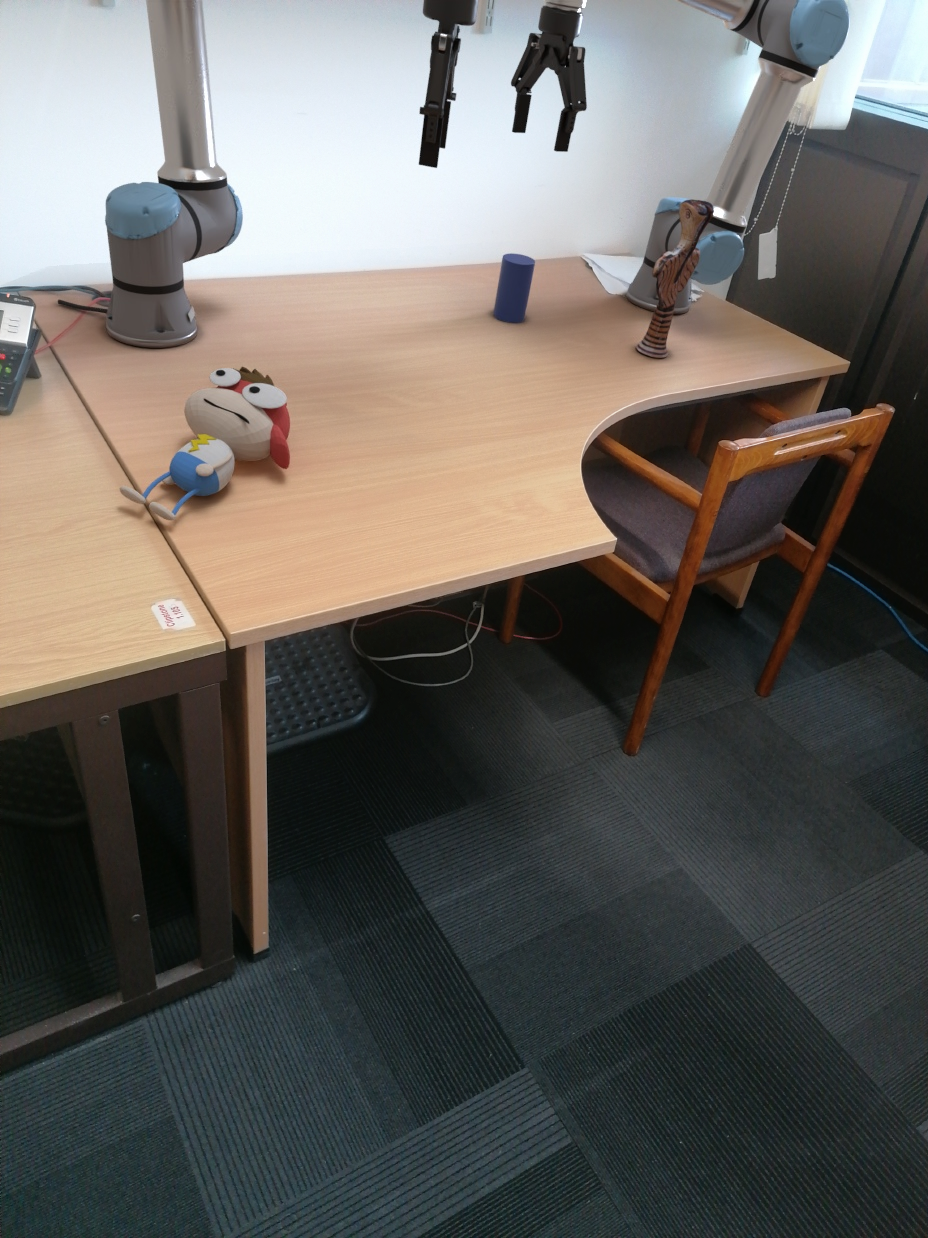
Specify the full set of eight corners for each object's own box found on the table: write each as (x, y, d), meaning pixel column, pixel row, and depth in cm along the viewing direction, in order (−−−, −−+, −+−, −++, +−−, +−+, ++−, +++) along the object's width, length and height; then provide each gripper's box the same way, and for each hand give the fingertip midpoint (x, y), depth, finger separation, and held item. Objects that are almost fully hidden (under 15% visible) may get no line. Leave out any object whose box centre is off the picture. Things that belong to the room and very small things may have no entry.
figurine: (653, 337, 192) (695, 188, 173) (684, 349, 189) (731, 199, 170) (621, 353, 182) (662, 197, 163) (654, 366, 179) (700, 209, 160)
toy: (74, 438, 111) (231, 346, 131) (86, 500, 119) (233, 404, 138) (190, 502, 107) (335, 397, 127) (195, 561, 114) (330, 454, 134)
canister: (494, 320, 186) (504, 261, 179) (491, 309, 192) (501, 251, 184) (526, 324, 187) (537, 266, 180) (522, 312, 193) (533, 255, 185)
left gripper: (474, -2, 112) (450, 179, 125) (484, -14, 132) (462, 143, 145) (415, -13, 112) (397, 169, 125) (434, -24, 131) (417, 134, 145)
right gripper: (505, -7, 161) (486, 124, 174) (591, 17, 146) (563, 158, 159) (538, -3, 165) (517, 125, 178) (624, 21, 150) (595, 159, 163)
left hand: (432, 155), depth 135 cm, fingers open, 13 cm apart
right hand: (539, 141), depth 168 cm, fingers open, 13 cm apart
